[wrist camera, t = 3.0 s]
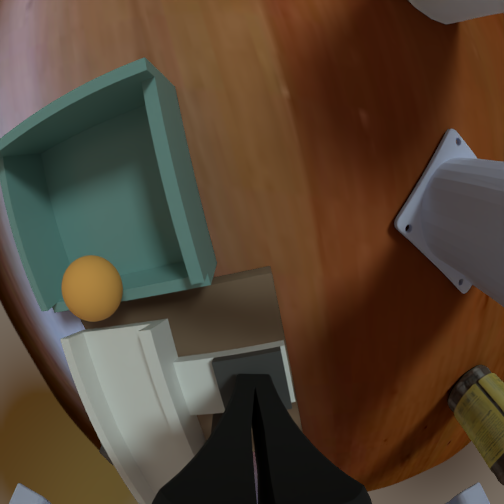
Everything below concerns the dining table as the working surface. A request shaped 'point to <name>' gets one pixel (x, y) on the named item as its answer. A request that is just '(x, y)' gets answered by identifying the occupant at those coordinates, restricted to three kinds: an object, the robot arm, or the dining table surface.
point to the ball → (92, 288)
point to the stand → (212, 322)
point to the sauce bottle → (482, 414)
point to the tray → (159, 395)
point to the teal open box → (107, 188)
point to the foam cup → (458, 9)
